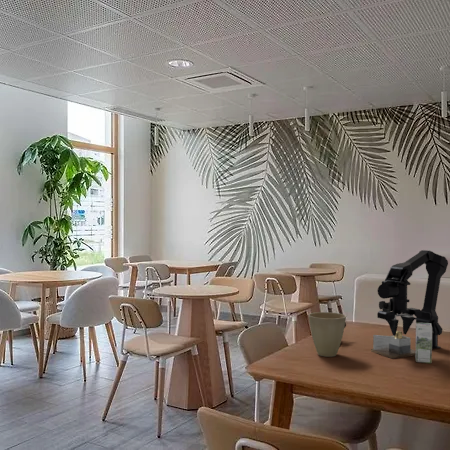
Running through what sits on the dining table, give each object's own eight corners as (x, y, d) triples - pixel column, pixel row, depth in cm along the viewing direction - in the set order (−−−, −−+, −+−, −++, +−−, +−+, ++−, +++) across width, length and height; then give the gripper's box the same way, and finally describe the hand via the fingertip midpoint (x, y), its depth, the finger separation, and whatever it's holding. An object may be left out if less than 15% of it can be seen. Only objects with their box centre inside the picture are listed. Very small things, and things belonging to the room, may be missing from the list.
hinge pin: (404, 351, 205) (403, 331, 205) (398, 352, 204) (397, 332, 204) (399, 350, 208) (398, 330, 208) (393, 351, 207) (392, 331, 207)
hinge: (398, 347, 216) (398, 331, 216) (420, 354, 205) (420, 337, 205) (371, 351, 210) (371, 334, 210) (392, 358, 199) (392, 340, 199)
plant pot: (352, 354, 205) (352, 315, 205) (333, 361, 194) (333, 320, 194) (320, 347, 215) (321, 310, 215) (300, 354, 205) (301, 315, 204)
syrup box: (431, 359, 197) (431, 322, 197) (431, 364, 192) (432, 325, 192) (415, 358, 199) (415, 321, 199) (415, 362, 194) (416, 324, 194)
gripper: (402, 292, 217) (402, 329, 217) (368, 295, 209) (367, 333, 209) (422, 296, 207) (422, 334, 207) (387, 299, 199) (387, 338, 199)
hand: (399, 334), depth 206 cm, fingers open, 5 cm apart
